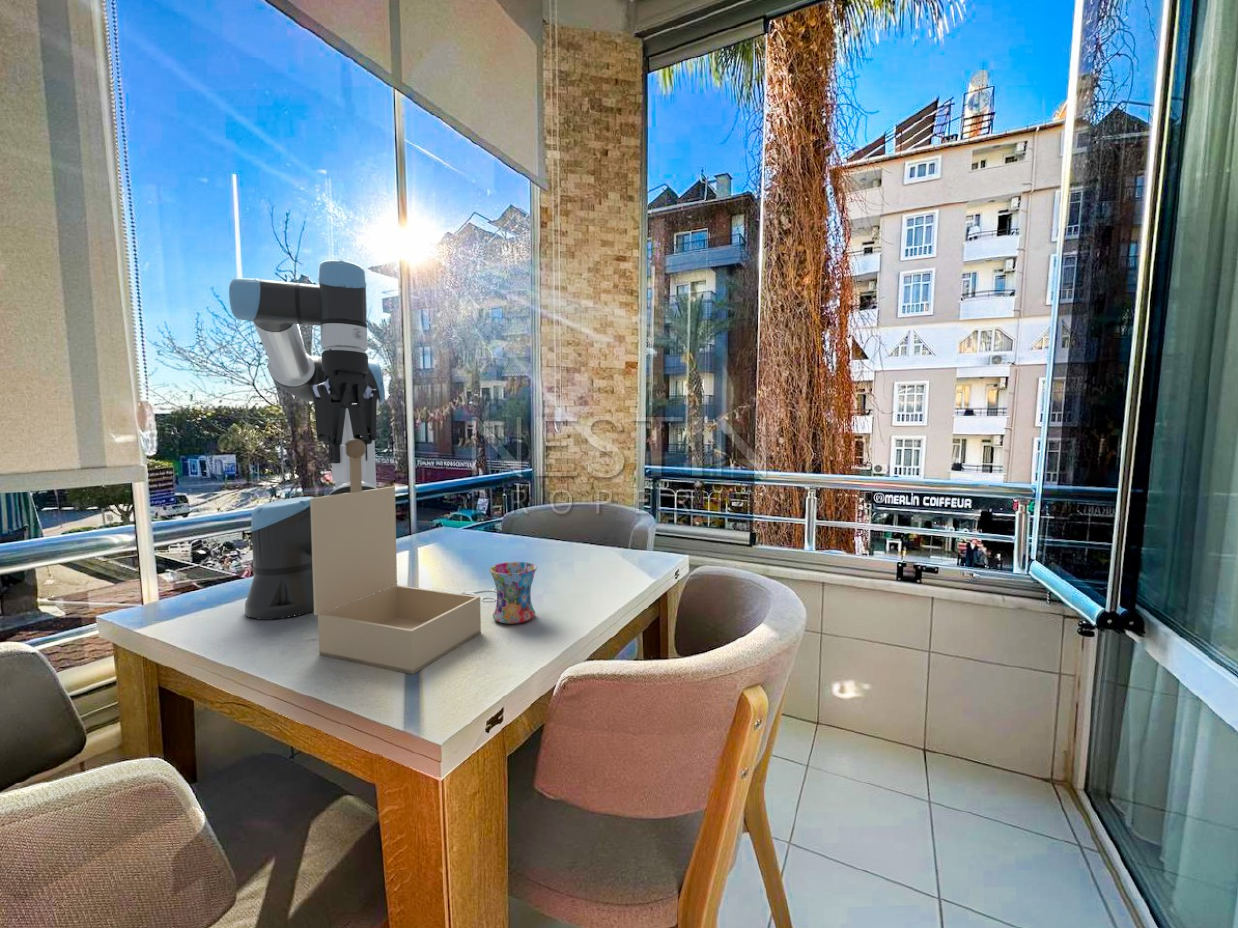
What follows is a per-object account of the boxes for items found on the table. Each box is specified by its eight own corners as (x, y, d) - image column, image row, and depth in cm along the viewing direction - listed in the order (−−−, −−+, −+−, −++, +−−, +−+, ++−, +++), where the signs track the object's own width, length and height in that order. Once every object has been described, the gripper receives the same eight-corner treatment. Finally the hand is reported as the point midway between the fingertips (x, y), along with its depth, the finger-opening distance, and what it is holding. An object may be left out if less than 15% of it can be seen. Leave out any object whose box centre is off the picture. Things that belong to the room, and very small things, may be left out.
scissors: (499, 601, 117) (415, 596, 120) (499, 605, 117) (415, 599, 120) (516, 587, 128) (438, 582, 131) (516, 590, 128) (438, 585, 131)
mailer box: (319, 654, 91) (317, 614, 90) (397, 618, 107) (396, 585, 107) (413, 674, 84) (411, 631, 83) (480, 632, 100) (480, 596, 100)
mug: (520, 630, 102) (520, 576, 101) (481, 623, 105) (480, 570, 105) (552, 610, 113) (551, 561, 112) (515, 604, 116) (514, 556, 116)
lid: (323, 616, 89) (307, 613, 91) (402, 585, 107) (388, 583, 108) (317, 440, 87) (301, 439, 88) (399, 437, 104) (385, 437, 106)
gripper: (320, 343, 87) (326, 485, 88) (395, 356, 102) (398, 476, 104) (287, 345, 89) (293, 484, 91) (365, 357, 105) (369, 475, 107)
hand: (349, 480), depth 97 cm, fingers closed on lid, 4 cm apart
